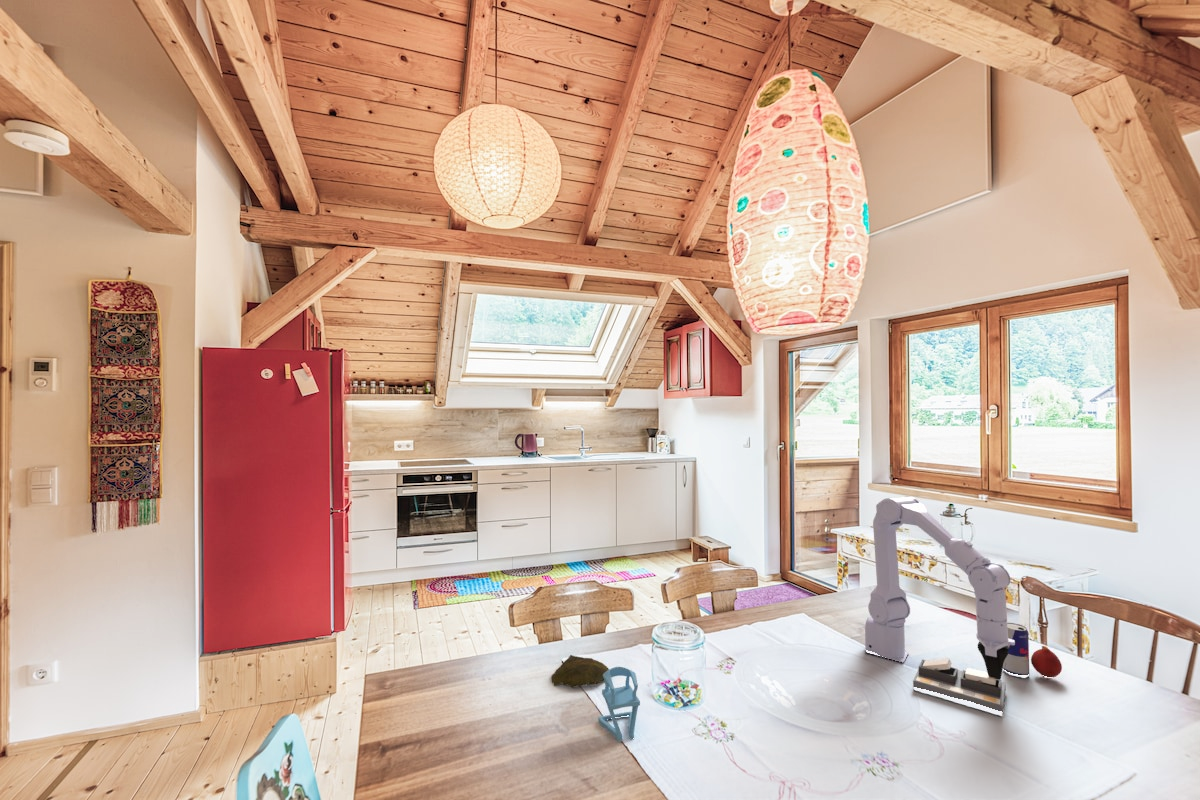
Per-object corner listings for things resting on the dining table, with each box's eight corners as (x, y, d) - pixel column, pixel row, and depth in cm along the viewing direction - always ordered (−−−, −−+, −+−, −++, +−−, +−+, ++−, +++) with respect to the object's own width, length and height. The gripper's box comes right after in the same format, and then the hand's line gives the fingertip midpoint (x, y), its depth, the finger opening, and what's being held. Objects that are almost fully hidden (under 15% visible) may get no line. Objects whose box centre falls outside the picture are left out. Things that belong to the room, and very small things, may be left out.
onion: (1050, 673, 133) (1049, 641, 133) (1068, 684, 127) (1067, 651, 127) (1026, 672, 133) (1025, 640, 134) (1042, 683, 128) (1042, 650, 128)
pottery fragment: (594, 698, 122) (594, 680, 122) (543, 684, 128) (543, 667, 128) (617, 673, 134) (617, 656, 134) (570, 661, 140) (570, 645, 140)
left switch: (925, 673, 127) (922, 666, 127) (927, 667, 130) (924, 660, 130) (950, 671, 124) (947, 663, 124) (952, 665, 126) (949, 658, 127)
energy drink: (1030, 681, 129) (1028, 632, 129) (1002, 674, 132) (1001, 627, 132) (1028, 672, 133) (1027, 625, 133) (1002, 666, 136) (1001, 620, 137)
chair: (608, 744, 105) (608, 684, 105) (597, 720, 113) (597, 665, 113) (644, 738, 107) (644, 679, 107) (631, 715, 115) (631, 660, 115)
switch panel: (913, 690, 124) (913, 672, 125) (922, 670, 134) (922, 653, 134) (1002, 717, 113) (1002, 697, 114) (1005, 693, 123) (1005, 674, 123)
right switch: (965, 680, 122) (965, 673, 122) (967, 674, 124) (966, 667, 125) (995, 687, 118) (994, 679, 118) (996, 681, 121) (995, 673, 121)
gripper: (1012, 631, 112) (1016, 695, 111) (1014, 612, 123) (1018, 670, 122) (972, 623, 117) (975, 685, 116) (978, 606, 128) (981, 662, 127)
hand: (994, 677), depth 119 cm, fingers closed, pressing on right switch
